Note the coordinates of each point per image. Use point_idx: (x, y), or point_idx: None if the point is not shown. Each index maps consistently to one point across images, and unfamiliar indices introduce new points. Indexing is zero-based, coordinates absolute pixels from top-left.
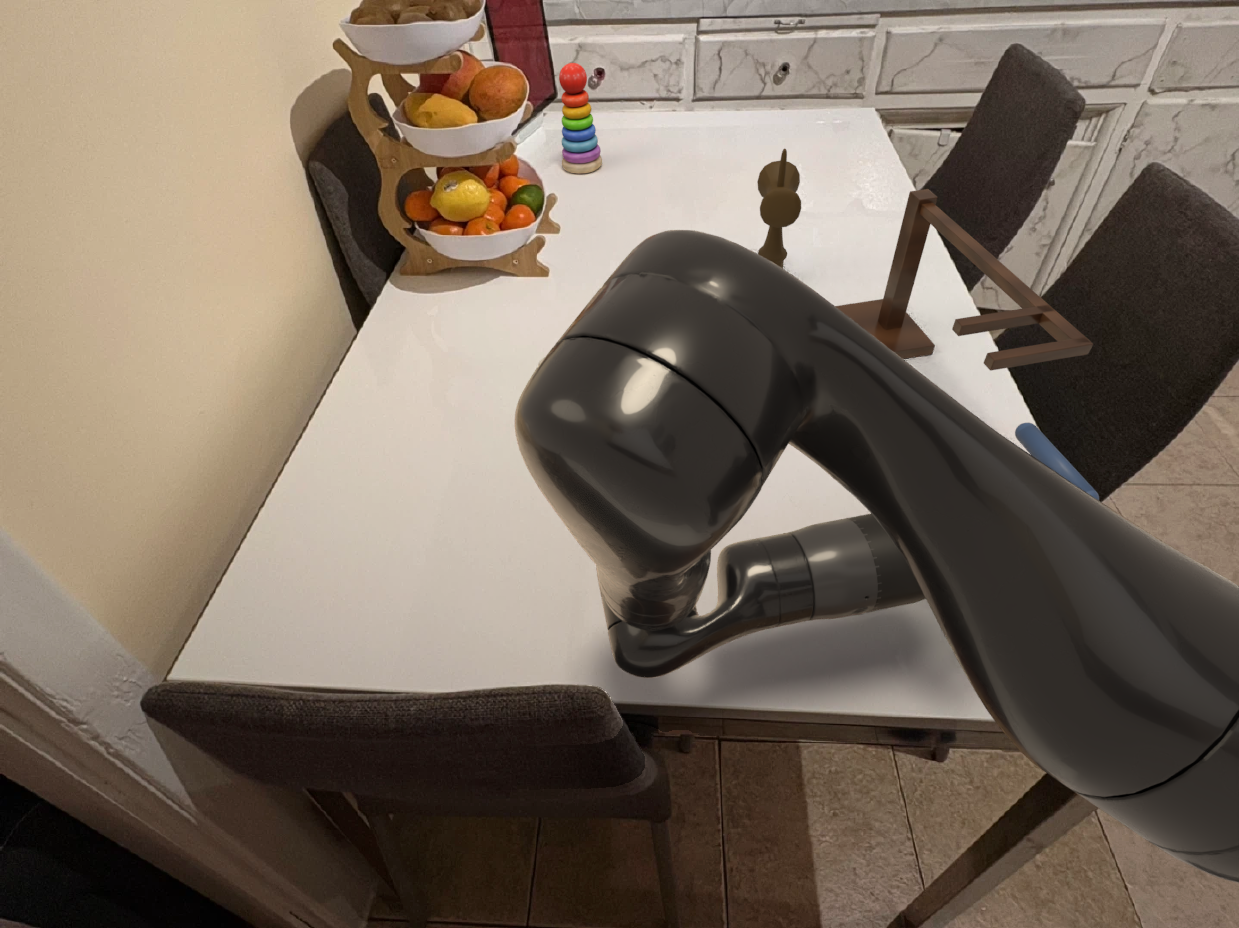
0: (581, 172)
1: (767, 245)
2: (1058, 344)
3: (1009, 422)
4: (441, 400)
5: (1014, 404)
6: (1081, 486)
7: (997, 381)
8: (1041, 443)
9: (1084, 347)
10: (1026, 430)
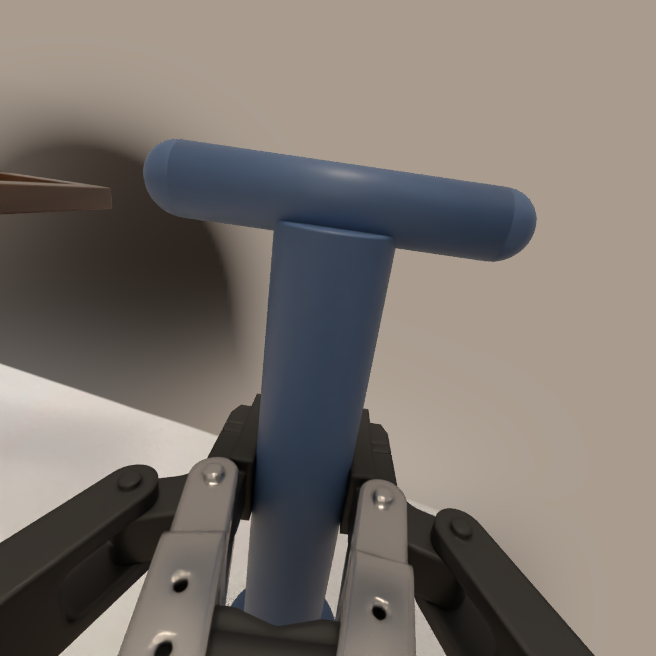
0: None
1: None
2: (61, 184)
3: (53, 396)
4: None
5: (44, 379)
6: (485, 186)
7: (3, 370)
8: (268, 155)
9: (102, 191)
10: (188, 148)
